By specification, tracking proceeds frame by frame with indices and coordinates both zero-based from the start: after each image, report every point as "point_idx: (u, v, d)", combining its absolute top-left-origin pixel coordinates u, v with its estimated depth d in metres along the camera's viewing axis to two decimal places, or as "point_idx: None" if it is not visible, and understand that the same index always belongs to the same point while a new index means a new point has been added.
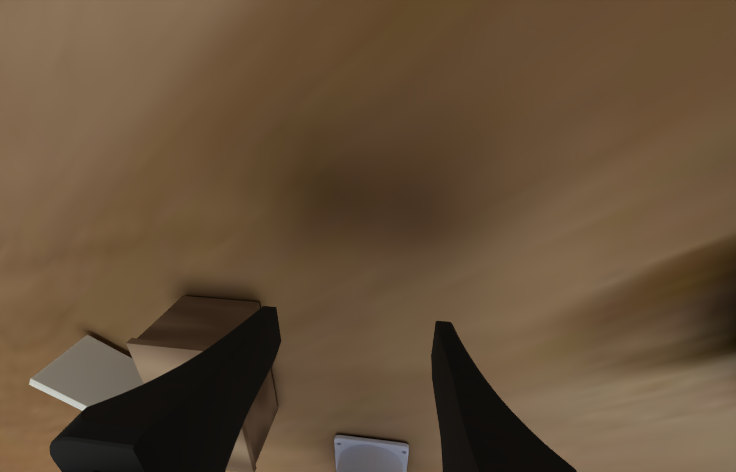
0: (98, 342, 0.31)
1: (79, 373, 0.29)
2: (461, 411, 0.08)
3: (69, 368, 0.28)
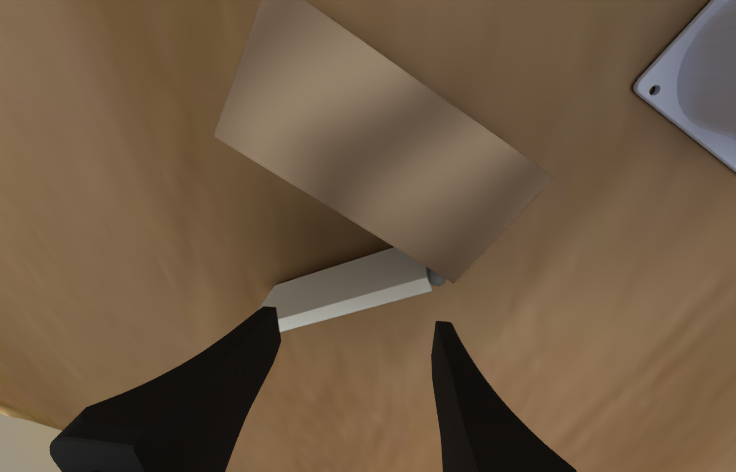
0: (287, 282, 0.26)
1: (284, 302, 0.23)
2: (461, 411, 0.08)
3: (273, 305, 0.23)
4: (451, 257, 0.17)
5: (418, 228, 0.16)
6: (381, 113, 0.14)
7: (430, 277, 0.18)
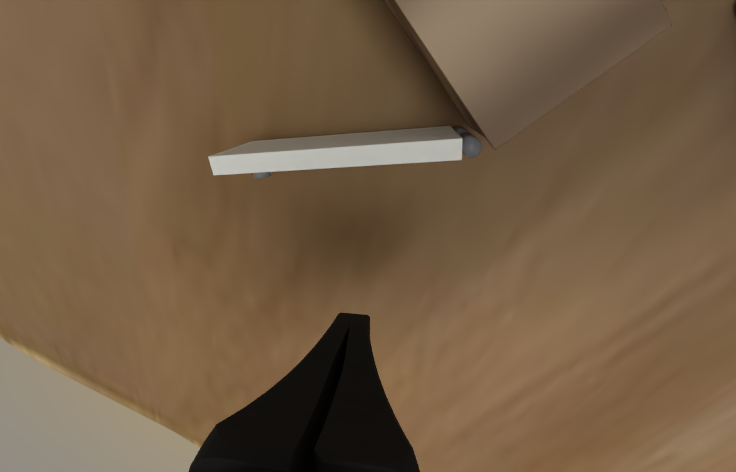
0: (269, 140, 0.21)
1: (265, 147, 0.18)
2: (335, 397, 0.09)
3: (250, 148, 0.18)
4: (507, 110, 0.13)
5: (484, 53, 0.13)
6: None
7: (464, 143, 0.15)
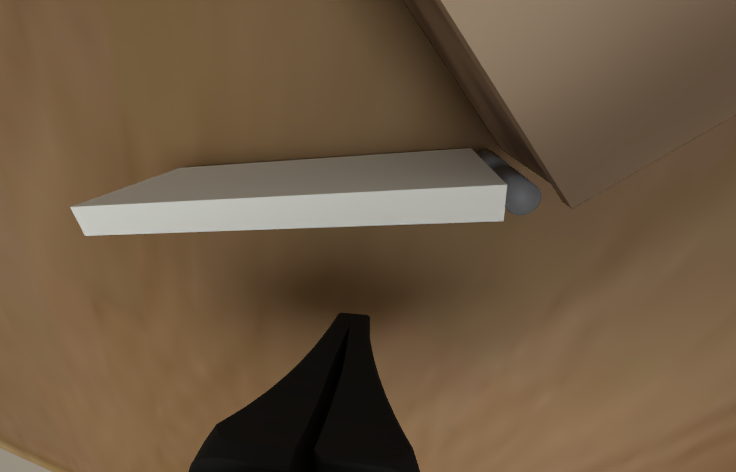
0: (203, 167, 0.14)
1: (179, 185, 0.11)
2: (335, 397, 0.09)
3: (156, 186, 0.11)
4: (604, 137, 0.07)
5: (569, 19, 0.06)
6: None
7: (509, 191, 0.08)
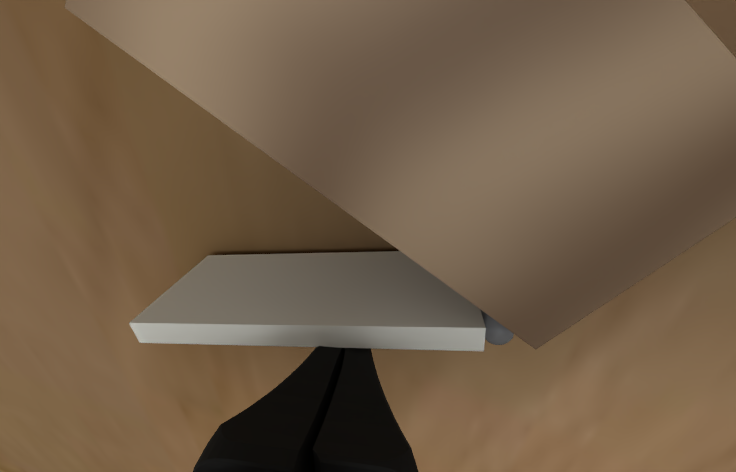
0: (229, 256, 0.16)
1: (215, 292, 0.13)
2: (333, 396, 0.09)
3: (195, 292, 0.13)
4: (543, 305, 0.09)
5: (489, 245, 0.08)
6: None
7: (488, 328, 0.10)
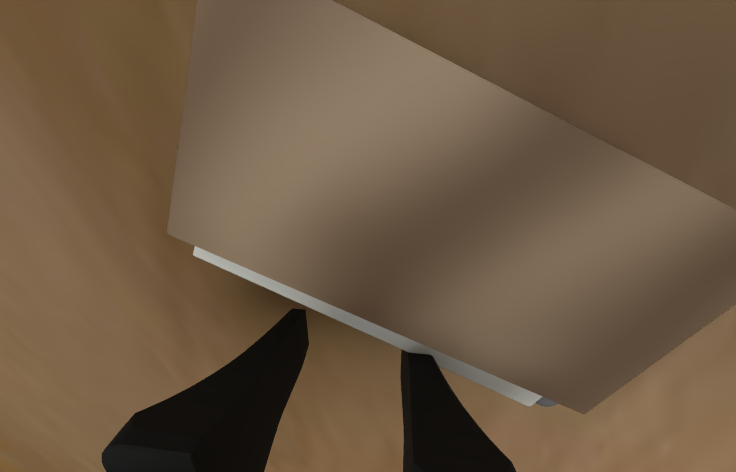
0: None
1: None
2: (411, 405, 0.09)
3: None
4: (582, 380, 0.10)
5: (522, 342, 0.09)
6: (451, 169, 0.07)
7: None
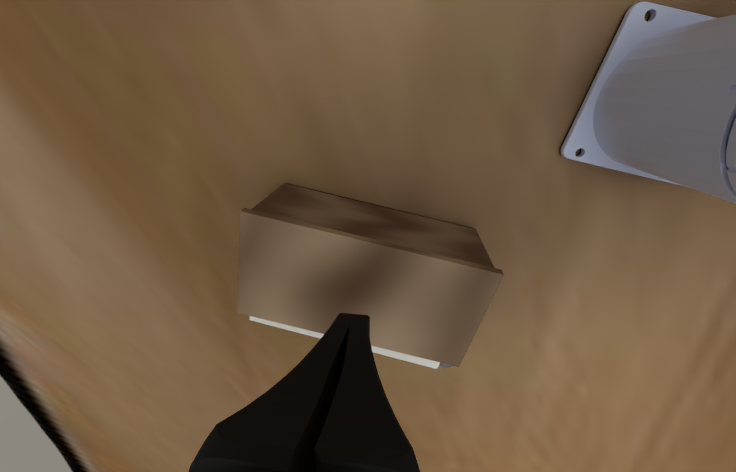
0: None
1: None
2: (335, 397, 0.09)
3: None
4: (448, 349, 0.19)
5: (411, 335, 0.19)
6: (349, 268, 0.18)
7: None
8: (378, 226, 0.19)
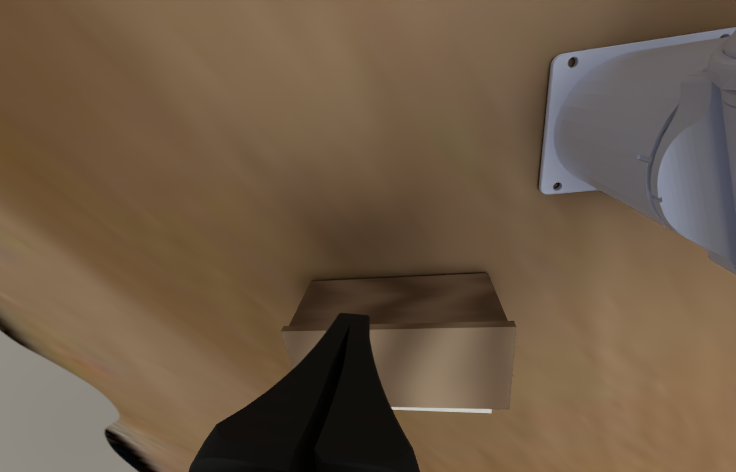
0: None
1: None
2: (335, 397, 0.09)
3: None
4: (492, 396, 0.21)
5: (455, 392, 0.21)
6: (381, 352, 0.20)
7: None
8: (396, 304, 0.22)
